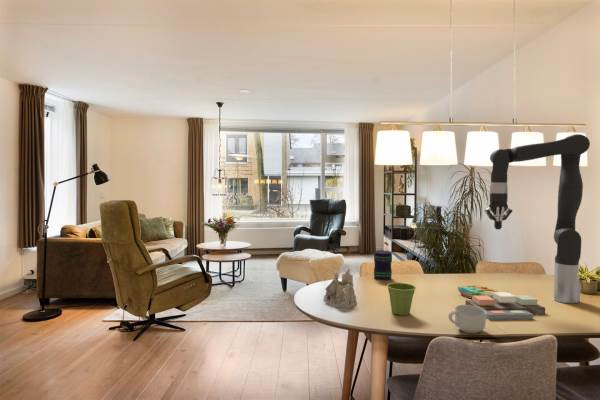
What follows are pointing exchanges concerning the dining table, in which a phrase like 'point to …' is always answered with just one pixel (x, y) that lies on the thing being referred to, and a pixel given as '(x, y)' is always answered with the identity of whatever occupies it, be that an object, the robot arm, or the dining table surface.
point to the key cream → (504, 297)
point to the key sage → (525, 300)
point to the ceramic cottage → (341, 291)
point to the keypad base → (509, 307)
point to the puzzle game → (476, 291)
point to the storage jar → (382, 265)
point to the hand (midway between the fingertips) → (497, 229)
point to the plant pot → (401, 297)
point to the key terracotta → (483, 300)
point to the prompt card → (508, 315)
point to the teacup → (469, 318)
